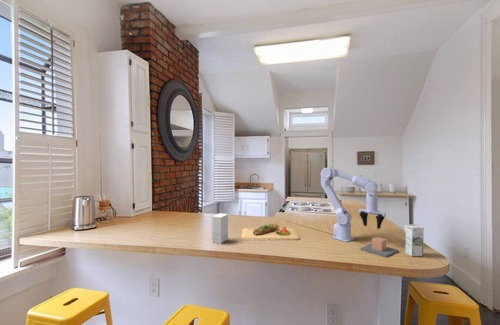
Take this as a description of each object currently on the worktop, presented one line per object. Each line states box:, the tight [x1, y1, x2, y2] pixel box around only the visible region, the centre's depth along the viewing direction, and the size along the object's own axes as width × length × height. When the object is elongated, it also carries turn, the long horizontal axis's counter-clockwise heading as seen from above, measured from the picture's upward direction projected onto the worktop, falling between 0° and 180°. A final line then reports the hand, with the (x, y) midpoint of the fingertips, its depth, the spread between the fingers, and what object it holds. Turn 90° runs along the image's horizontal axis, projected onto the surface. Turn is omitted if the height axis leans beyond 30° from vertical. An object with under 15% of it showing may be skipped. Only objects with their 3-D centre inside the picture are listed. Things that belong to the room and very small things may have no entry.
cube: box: [371, 236, 387, 251], centre depth 130 cm, size 5×5×5 cm
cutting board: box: [240, 222, 301, 241], centre depth 160 cm, size 35×23×8 cm
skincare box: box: [211, 212, 229, 244], centre depth 146 cm, size 8×7×16 cm
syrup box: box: [404, 224, 425, 257], centre depth 124 cm, size 6×6×14 cm
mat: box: [360, 243, 399, 258], centre depth 130 cm, size 13×13×1 cm
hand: (371, 227), depth 141 cm, fingers open, 7 cm apart
